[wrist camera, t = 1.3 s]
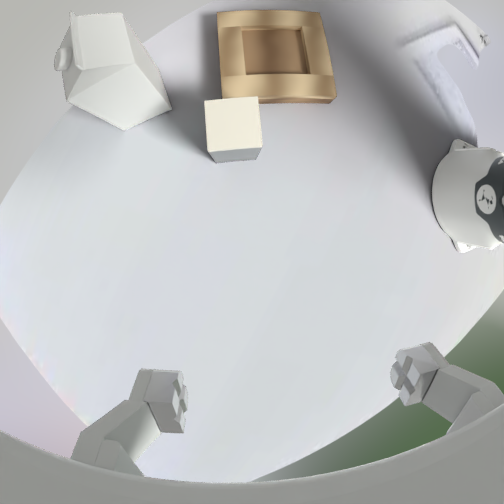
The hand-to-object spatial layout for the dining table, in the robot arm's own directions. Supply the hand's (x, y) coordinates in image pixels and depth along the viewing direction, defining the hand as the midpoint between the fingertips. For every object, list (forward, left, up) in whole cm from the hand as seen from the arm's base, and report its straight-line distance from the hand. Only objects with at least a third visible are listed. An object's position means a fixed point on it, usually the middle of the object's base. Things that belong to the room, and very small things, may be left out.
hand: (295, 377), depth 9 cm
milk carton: (+13, -21, -28) cm, 38 cm away
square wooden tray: (-5, -25, -28) cm, 38 cm away
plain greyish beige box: (+1, -13, -28) cm, 31 cm away
